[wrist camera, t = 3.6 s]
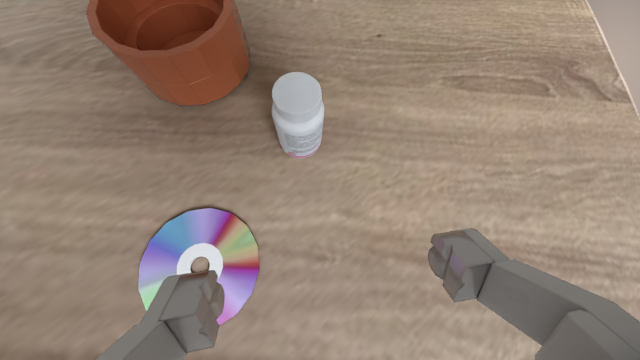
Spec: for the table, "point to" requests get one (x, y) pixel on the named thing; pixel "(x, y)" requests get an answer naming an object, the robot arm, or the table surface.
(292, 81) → the pill bottle
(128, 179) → the table surface
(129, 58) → the pot
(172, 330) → the robot arm
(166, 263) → the cd
